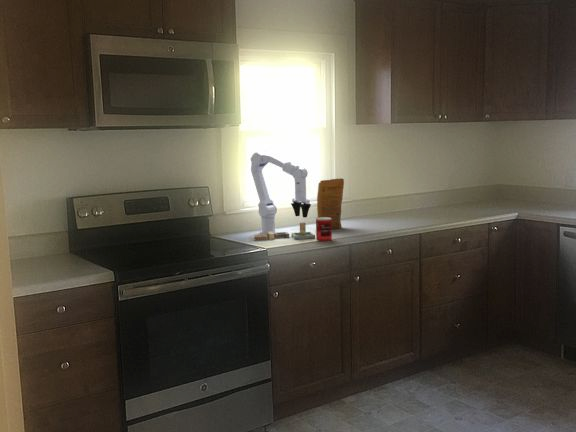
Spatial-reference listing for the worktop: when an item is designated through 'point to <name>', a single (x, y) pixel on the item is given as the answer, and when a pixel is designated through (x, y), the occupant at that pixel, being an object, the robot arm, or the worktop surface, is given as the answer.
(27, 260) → the worktop surface
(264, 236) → the brown wooden board
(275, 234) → the socket block
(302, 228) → the dowel
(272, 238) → the block
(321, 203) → the pancake mix bag
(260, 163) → the robot arm
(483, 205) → the worktop surface
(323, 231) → the canned food
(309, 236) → the tray
